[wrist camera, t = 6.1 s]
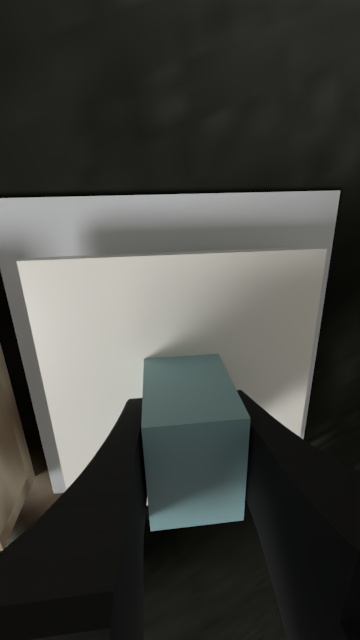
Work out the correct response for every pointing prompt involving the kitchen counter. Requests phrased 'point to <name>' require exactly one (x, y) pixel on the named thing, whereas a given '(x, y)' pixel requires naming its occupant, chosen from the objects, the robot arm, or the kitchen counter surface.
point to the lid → (175, 361)
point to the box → (11, 458)
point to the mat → (150, 249)
